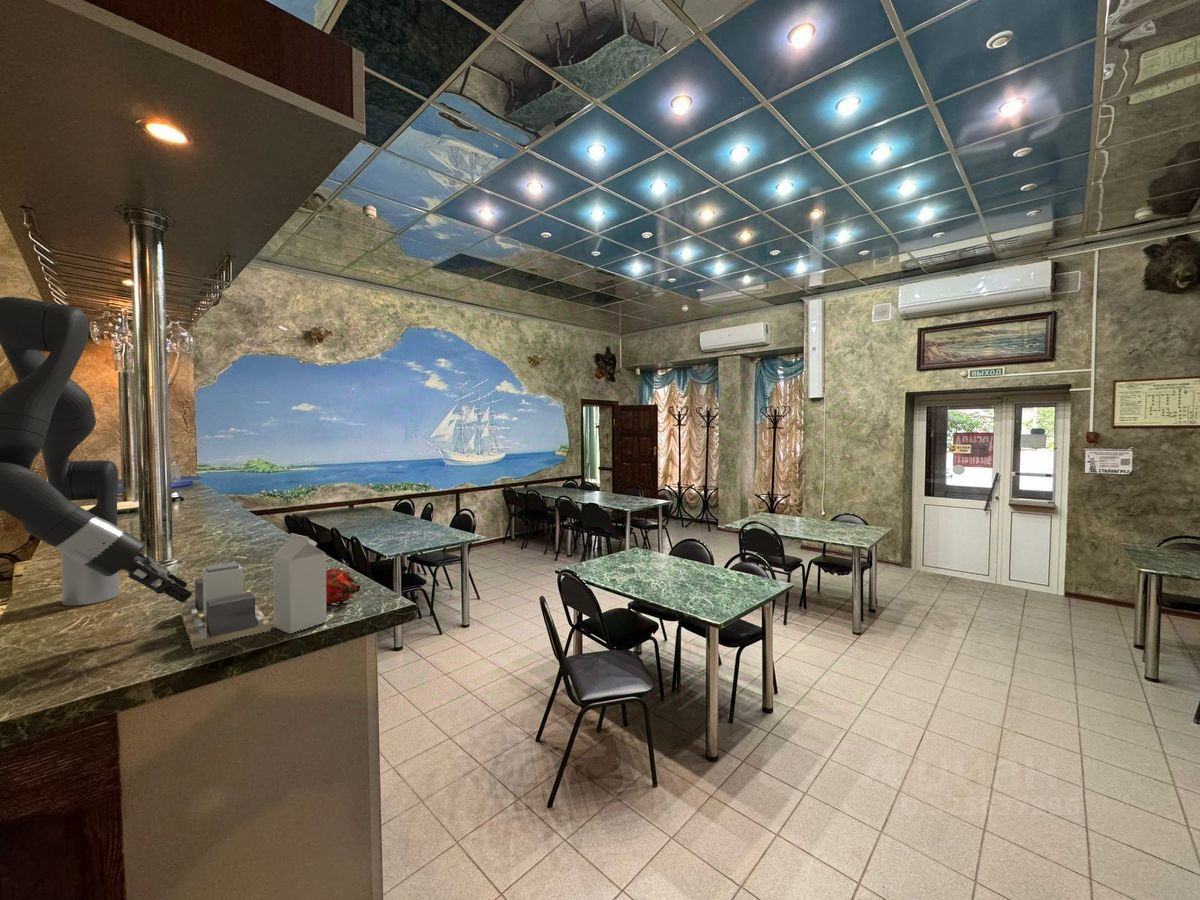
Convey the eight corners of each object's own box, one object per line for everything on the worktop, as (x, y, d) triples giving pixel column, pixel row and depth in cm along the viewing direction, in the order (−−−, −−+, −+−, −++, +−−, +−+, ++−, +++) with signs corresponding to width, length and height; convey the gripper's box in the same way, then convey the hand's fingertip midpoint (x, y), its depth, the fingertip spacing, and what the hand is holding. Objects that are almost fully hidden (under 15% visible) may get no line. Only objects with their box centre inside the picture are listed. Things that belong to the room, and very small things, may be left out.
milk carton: (290, 635, 94) (289, 540, 93) (273, 627, 97) (272, 536, 97) (326, 623, 100) (326, 534, 99) (309, 616, 103) (308, 530, 103)
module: (203, 615, 99) (202, 566, 99) (238, 608, 103) (238, 560, 103) (206, 622, 96) (205, 571, 95) (243, 614, 100) (242, 565, 100)
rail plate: (180, 614, 104) (179, 580, 103) (247, 601, 112) (247, 570, 112) (192, 649, 87) (192, 609, 87) (270, 630, 96) (270, 594, 95)
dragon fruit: (326, 601, 117) (350, 619, 110) (297, 589, 111) (320, 607, 104) (349, 570, 120) (373, 586, 114) (321, 557, 114) (345, 572, 107)
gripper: (123, 535, 83) (207, 584, 92) (121, 524, 93) (198, 570, 102) (79, 570, 80) (171, 619, 88) (82, 555, 90) (165, 600, 98)
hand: (185, 592), depth 95 cm, fingers open, 8 cm apart
